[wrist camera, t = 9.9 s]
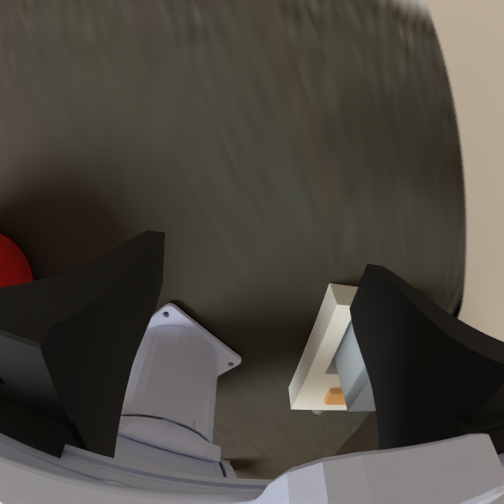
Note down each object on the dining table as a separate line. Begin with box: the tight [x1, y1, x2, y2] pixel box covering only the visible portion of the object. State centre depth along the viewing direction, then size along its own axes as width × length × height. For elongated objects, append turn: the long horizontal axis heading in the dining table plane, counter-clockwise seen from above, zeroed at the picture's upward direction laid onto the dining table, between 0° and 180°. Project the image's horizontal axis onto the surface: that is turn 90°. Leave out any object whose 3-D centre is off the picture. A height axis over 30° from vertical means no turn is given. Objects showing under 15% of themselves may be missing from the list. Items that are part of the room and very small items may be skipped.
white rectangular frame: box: [289, 283, 358, 414], centre depth 25 cm, size 14×7×3 cm, turn 170°
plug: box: [334, 320, 376, 412], centre depth 22 cm, size 4×3×7 cm, turn 170°
